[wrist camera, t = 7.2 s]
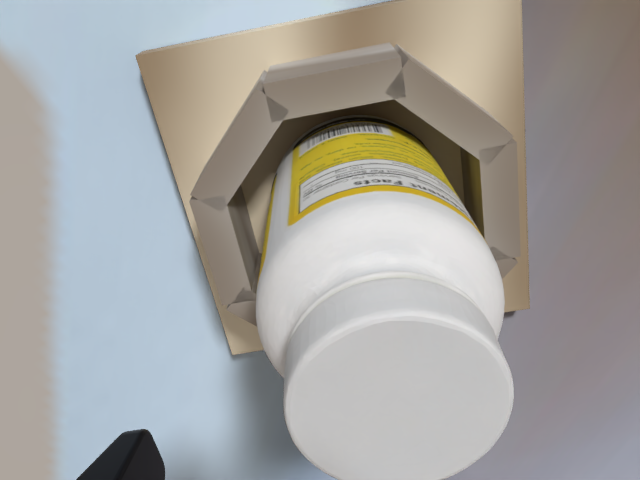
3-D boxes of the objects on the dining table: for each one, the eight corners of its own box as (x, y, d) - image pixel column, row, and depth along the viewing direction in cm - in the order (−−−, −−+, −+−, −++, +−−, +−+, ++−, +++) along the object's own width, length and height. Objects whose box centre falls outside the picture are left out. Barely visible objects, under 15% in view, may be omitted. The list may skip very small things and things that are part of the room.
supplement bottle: (370, 292, 20) (412, 554, 11) (240, 210, 19) (175, 438, 10) (476, 176, 18) (625, 384, 10) (340, 73, 17) (369, 207, 8)
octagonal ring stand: (511, -24, 16) (554, -18, 13) (522, 296, 21) (555, 352, 18) (142, 51, 17) (107, 72, 14) (235, 341, 22) (222, 402, 19)
